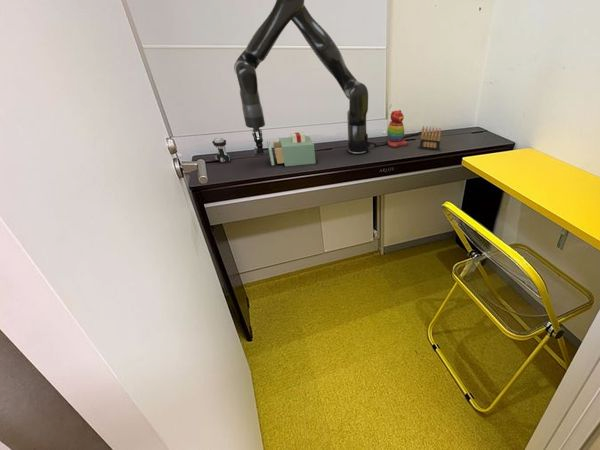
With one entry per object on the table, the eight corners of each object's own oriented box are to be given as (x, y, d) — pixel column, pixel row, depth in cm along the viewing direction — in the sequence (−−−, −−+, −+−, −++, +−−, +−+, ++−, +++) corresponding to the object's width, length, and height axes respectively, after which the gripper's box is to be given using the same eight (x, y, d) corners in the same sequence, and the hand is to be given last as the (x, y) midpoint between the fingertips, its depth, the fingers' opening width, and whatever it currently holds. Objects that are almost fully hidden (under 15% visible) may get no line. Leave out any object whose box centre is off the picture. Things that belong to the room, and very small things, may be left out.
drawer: (257, 166, 135) (253, 150, 131) (255, 157, 143) (252, 142, 139) (300, 162, 141) (298, 147, 137) (297, 154, 150) (295, 139, 146)
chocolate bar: (304, 139, 144) (303, 132, 142) (305, 142, 141) (304, 135, 139) (291, 139, 142) (290, 132, 140) (292, 143, 139) (291, 135, 137)
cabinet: (285, 166, 139) (282, 146, 134) (282, 156, 148) (279, 138, 143) (315, 163, 144) (313, 144, 139) (311, 154, 153) (309, 135, 148)
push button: (212, 162, 138) (205, 140, 133) (219, 157, 143) (214, 136, 137) (226, 163, 138) (220, 141, 132) (233, 159, 142) (228, 137, 137)
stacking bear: (392, 148, 167) (394, 114, 157) (382, 142, 174) (383, 109, 164) (408, 145, 173) (411, 112, 163) (398, 139, 179) (400, 107, 169)
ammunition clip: (439, 149, 170) (442, 127, 163) (439, 150, 168) (442, 128, 162) (419, 147, 171) (421, 125, 164) (419, 148, 169) (421, 126, 163)
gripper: (264, 118, 125) (271, 159, 134) (262, 110, 135) (269, 148, 144) (243, 119, 122) (252, 160, 131) (243, 110, 132) (251, 150, 141)
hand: (261, 154), depth 138 cm, fingers closed
